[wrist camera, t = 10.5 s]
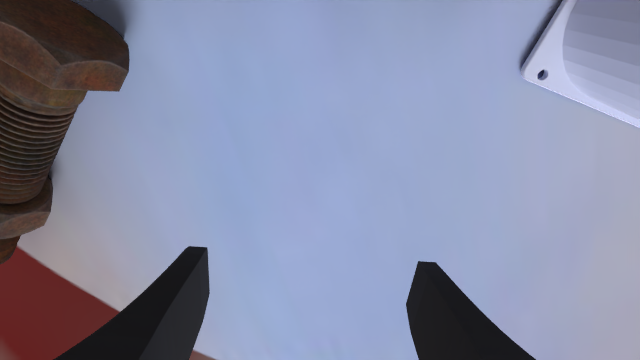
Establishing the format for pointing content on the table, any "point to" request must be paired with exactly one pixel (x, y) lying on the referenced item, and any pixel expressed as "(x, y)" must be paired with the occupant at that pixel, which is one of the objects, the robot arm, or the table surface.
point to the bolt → (45, 98)
